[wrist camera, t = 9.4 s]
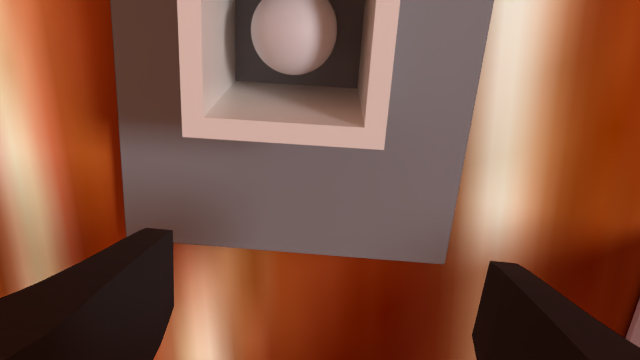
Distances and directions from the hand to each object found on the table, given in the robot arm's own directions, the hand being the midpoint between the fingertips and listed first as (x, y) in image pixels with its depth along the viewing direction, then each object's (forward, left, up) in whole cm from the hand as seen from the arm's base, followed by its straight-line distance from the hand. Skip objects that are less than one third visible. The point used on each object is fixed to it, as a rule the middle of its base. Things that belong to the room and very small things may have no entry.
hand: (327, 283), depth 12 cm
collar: (+2, -5, -9) cm, 10 cm away
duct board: (+2, -5, -9) cm, 11 cm away
